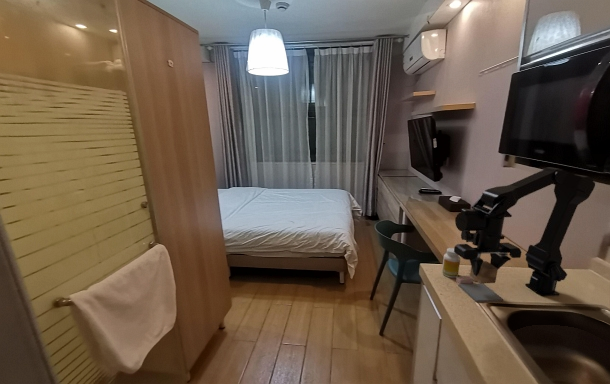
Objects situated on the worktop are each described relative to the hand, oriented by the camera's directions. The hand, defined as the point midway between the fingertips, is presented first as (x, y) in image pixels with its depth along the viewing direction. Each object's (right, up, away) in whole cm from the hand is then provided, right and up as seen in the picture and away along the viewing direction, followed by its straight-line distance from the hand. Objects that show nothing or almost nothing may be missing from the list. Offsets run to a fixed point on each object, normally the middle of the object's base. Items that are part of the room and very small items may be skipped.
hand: (483, 274), depth 89 cm
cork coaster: (+4, -5, +11) cm, 12 cm away
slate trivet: (0, -6, +2) cm, 7 cm away
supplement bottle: (-4, -4, +13) cm, 14 cm away
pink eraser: (-2, -5, +8) cm, 10 cm away
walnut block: (0, -1, 0) cm, 2 cm away
